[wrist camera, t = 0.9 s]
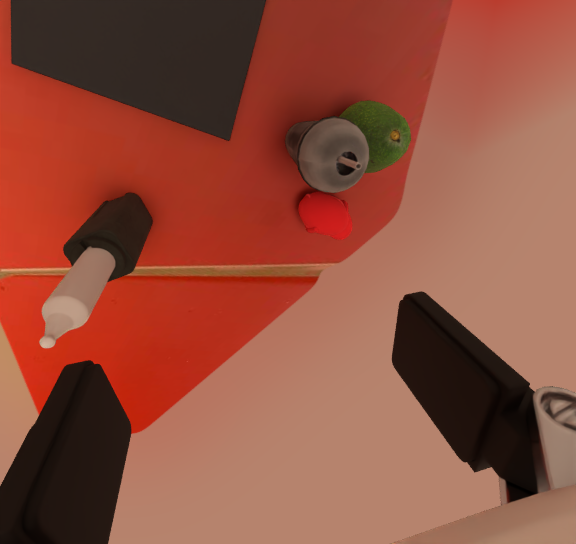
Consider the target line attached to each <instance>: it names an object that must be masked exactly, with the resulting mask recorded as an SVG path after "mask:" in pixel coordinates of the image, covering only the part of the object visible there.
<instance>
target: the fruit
mask: <svg viewBox="0 0 576 544" xmlns="http://www.w3.org/2000/svg"><path fill="white" fill-rule="evenodd" d="M339 117H343V118H346V119H348V120H349V121H351V122H353V123H354V124H355V125H356V126H357V127H358V128H359V129H360V130H361V132H362V133H363V134H364V136H365V138H366V141H367V144H368V147H369V161H368V165H367V168H366V170H365V172H364V173H372V172H377V171H380V170H382V169H384V168H386V167H388V166H390V165H392V164H393V163H395V162H396V161H397V160H399V159H400V158H401V157H402V156H403V154H404V153H405V152H406V151H407V149H408V146H409V143H410V141H411V134H410V128H409V126H408V123H407V121H406V120H405V118H404V117H402V116H401V115H400V114H399V113H397V112H396V111H395V110H393V109H392V108H390V107H389V106H387V105H385V104H382V103H379V102H375V101H360V102H358V103H355V104H353V105H351V106H349V107H348V108H347V109H346V110H345V111H344V112H343V113H342V114H341V115H340V116H339Z"/></svg>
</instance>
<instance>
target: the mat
mask: <svg viewBox="0 0 576 544" xmlns="http://www.w3.org/2000/svg"><path fill="white" fill-rule="evenodd" d="M265 2H266V0H11V56H12V64H15V65H17V66H20V67H23V68H26V69H29V70H32V71H34V72H37V73H40V74H43V75H46V76H48V77H51V78H54V79H57V80H60V81H62V82H65V83H68V84H71V85H74V86H76V87H79V88H82V89H85V90H88V91H90V92H93V93H96V94H99V95H102V96H105V97H107V98H110V99H113V100H116V101H119V102H121V103H124V104H127V105H130V106H133V107H135V108H138V109H141V110H144V111H147V112H149V113H152V114H155V115H158V116H161V117H163V118H166V119H169V120H172V121H175V122H177V123H180V124H183V125H186V126H189V127H192V128H194V129H197V130H200V131H203V132H206V133H208V134H211V135H214V136H217V137H220V138H222V139H225V140H228V141H229V140H230V136H231V133H232V129H233V125H234V121H235V117H236V113H237V110H238V106H239V102H240V98H241V94H242V90H243V87H244V83H245V79H246V75H247V71H248V67H249V64H250V60H251V56H252V52H253V48H254V44H255V41H256V37H257V33H258V29H259V25H260V21H261V18H262V14H263V10H264V6H265Z"/></svg>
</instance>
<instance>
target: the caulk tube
mask: <svg viewBox="0 0 576 544" xmlns="http://www.w3.org/2000/svg"><path fill="white" fill-rule="evenodd" d="M152 223H153V220H152V217H151V215H150V214H149V212H148V210H147V209H146V207H145V205H144V204H143V202H142V200H141V198H140V197H139V196H138V195H136V194H134V193H126V194H125V195H124V196H123V197H120V198H117V199H114V200H112V201H105V202H104V203H103V204H102V205H101V206H100V207H99V208H98V209H97V210H96V211H95V212H94V213H93V214H92V215H91V217H90V218H89V219H88V220H87V221H86V222H85V223H84V224H83V225H82V226H81V227H80V228H79V230H78V231H77V232H76V233H75V234H74V235H73V236H72V237H71V238H70V239H69V240H68V241H67V243H66V244H65V245H64V247H63V251H64V254H65V256H66V257H67V258H68V260H69V261H70V262H71V265H72V268H71V269H70V270H69V272H68V273H67V274H66V276H65V277H64V278H63V279H62V281H61V282H60V283H59V285H58V286H57V287H56V289H55V290H54V291H53V293H52V294H51V295H50V296H49V298H48V299H47V300H46V302H45V303H44V305H43V307H42V315H43V318H44V320H45V322H46V327H45V335H44V337H42V338H41V339H40V345H41V346H42V347H43V348H50V347H53V346H54V345H55V343H56V339H58V338H59V337H60V336H62V335H63V334H64V333H66V332H67V331H68V330H72V329H76V328H79V327H80V326H82V325H83V324H84V323H85V322H87V320H88V318H89V316H90V314H91V312H92V310H93V308H94V306H95V304H96V303H97V301H98V299H99V297H100V295H101V293H102V291H103V289H104V287H105V285H106V283H107V282H109V281H111V280H114V279H117V278H119V277H122V276H125V275H127V274H129V273H131V272H132V271H133V270H134V268H135V266H136V264H137V261H138V259H139V256H140V254H141V251H142V249H143V246H144V244H145V241H146V239H147V236H148V234H149V231H150V229H151V226H152Z"/></svg>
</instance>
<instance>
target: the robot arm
mask: <svg viewBox="0 0 576 544" xmlns="http://www.w3.org/2000/svg"><path fill="white" fill-rule="evenodd" d="M392 363H393V366H394V368H395V369H396V371H397V372H398V374H399V375H400V376H401V378H402V379H403V381H404V382H405V383H406V384H407V386H408V388H409V389H410V390H411V392H412V393H413V395H414V396H415V397H416V399H417V400H418V402H419V403H420V404H421V405H422V407H423V409H424V410H425V411H426V413H427V414H428V416H429V417H430V418H431V420H432V421H433V422H434V424H435V425H436V427H437V428H438V429H439V431H440V432H441V434H442V435H443V436H444V438H445V439H446V441H447V442H448V443H449V445H450V446H451V448H452V449H453V450H454V451H455V453H456V455H457V456H458V457H459V458H460V459H461V460H462V461H463V462H467V463H468V464H469V465H470V467H471V468H472V470H473V471H474V472H478V471H480V470H484V469H487V468H490V467H492V468H493V469H494V471H495V472H496V473H497V474H498V476H499V487H500V501H501V506H498V507H495V508H492V509H489V510H486V511H483V512H480V513H477V514H474V515H472V516H469V517H466V518H463V519H460V520H457V521H454V522H452V523H449V524H446V525H443V526H440V527H437V528H435V529H432V530H429V531H426V532H423V533H420V534H417V535H415V536H412V537H409V538H406V539H403V540H401V541H397V542H394V543H391V544H576V393H575V392H572V391H569V390H567V389H564V388H559V387H553V386H552V387H542V388H540V389H537V390H536V392H534V391H533V390H532V389H531V388H530V387H529V385H530V383H529V382H527V381H526V380H525V379H524V378H523V377H522V376H521V375H519V374H518V373H517V372H516V371H515V370H514V369H512V368H511V367H510V366H509V365H508V364H507V363H506V362H504V361H503V360H502V359H501V358H500V357H499V356H498V355H496V354H495V353H494V352H493V351H492V350H491V349H489V348H488V347H487V346H486V345H485V344H484V343H482V342H481V341H480V340H479V339H478V338H477V337H476V336H474V335H473V334H472V333H471V332H470V331H469V330H467V329H466V328H465V327H464V326H463V325H462V324H461V323H459V322H458V321H457V320H456V319H455V318H454V317H453V316H451V315H450V314H449V313H448V312H447V311H446V310H444V309H443V308H442V307H441V306H440V305H439V304H438V303H436V302H435V301H434V300H433V299H432V298H431V297H429V296H428V295H427V294H426V293H424V292H416V293H412V294H407V295H405V296H404V298H403V300H401V301H400V303H399V309H398V316H397V323H396V331H395V338H394V346H393V353H392ZM130 437H131V424H130V421H129V419H128V417H127V415H126V413H125V411H124V409H123V407H122V405H121V403H120V402H119V400H118V398H117V396H116V394H115V392H114V390H113V388H112V386H111V384H110V382H109V380H108V378H107V376H106V374H105V373H104V371H103V369H102V367H101V365H100V364H94V363H93V362H92V361H91V360H88V361H83V362H78V363H74V364H69V365H66V366H65V367H64V368H63V370H62V372H61V374H60V376H59V378H58V380H57V382H56V384H55V386H54V388H53V390H52V391H51V393H50V395H49V397H48V399H47V401H46V403H45V405H44V407H43V409H42V411H41V413H40V415H39V417H38V419H37V421H36V423H35V424H34V425H33V426H32V428H31V429H30V431H29V432H28V434H27V436H26V438H25V440H24V442H23V444H22V446H21V448H20V449H19V451H18V453H17V455H16V457H15V459H14V461H13V463H12V465H11V467H10V469H9V470H8V472H7V474H6V476H5V478H4V480H3V482H2V484H1V486H0V544H108V541H109V536H110V531H111V527H112V522H113V517H114V513H115V508H116V503H117V499H118V493H119V489H120V484H121V479H122V474H123V470H124V465H125V461H126V456H127V451H128V447H129V442H130Z"/></svg>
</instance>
